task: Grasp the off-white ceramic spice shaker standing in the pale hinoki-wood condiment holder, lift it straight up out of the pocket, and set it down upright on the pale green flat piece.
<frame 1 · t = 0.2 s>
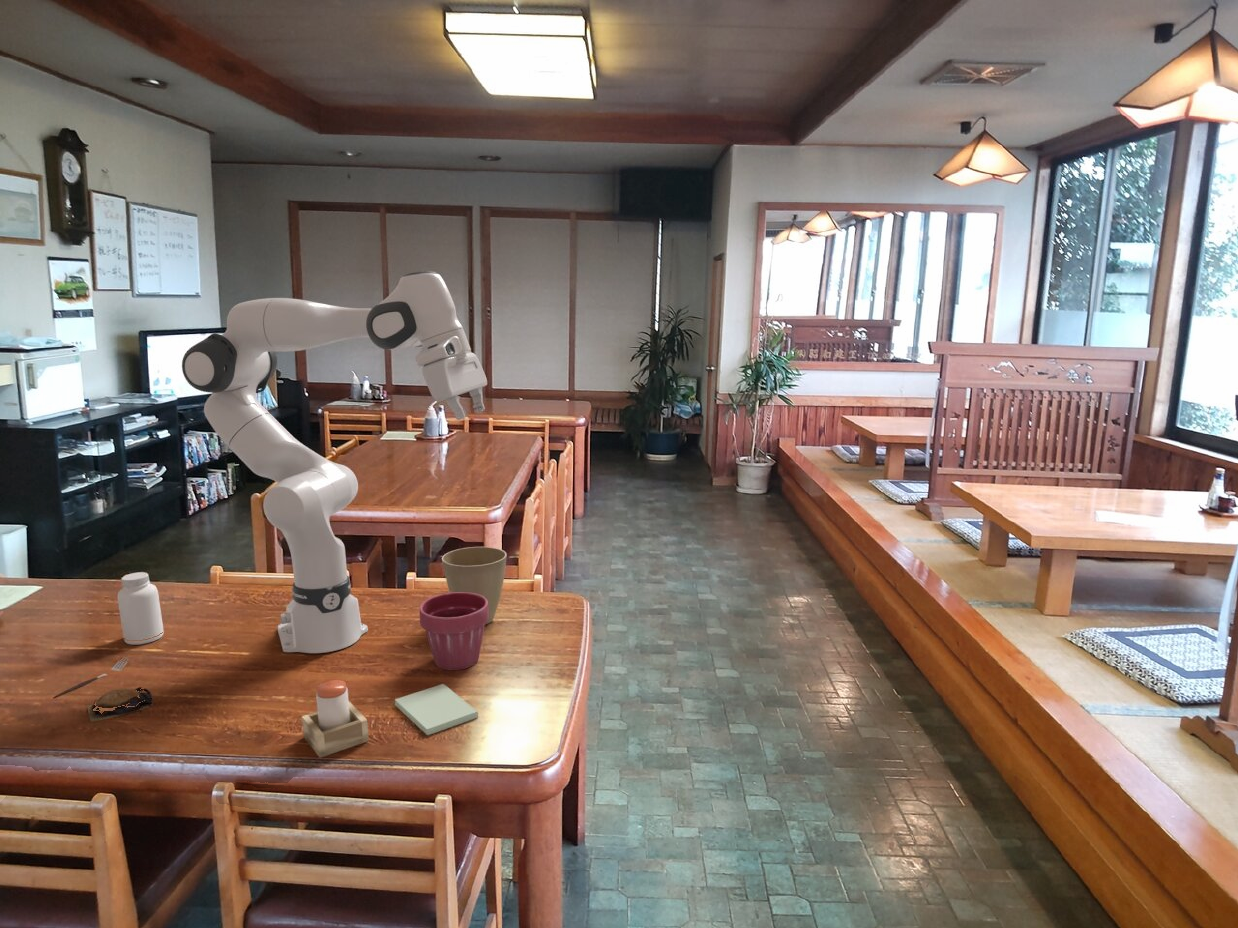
hand: (471, 415, 169), 52 cm above the table, tool tilted 20°, fingers open, 8 cm apart
pill bottle: (144, 639, 190), on the table
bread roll: (121, 709, 160), on the table
plant pot 2: (457, 661, 177), on the table
holder: (336, 738, 147), on the table
plant pot: (477, 620, 198), on the table
shaker: (335, 733, 146), point 1 cm above the table, touching holder
fork: (92, 683, 170), on the table
pale green flat piece: (436, 711, 156), on the table
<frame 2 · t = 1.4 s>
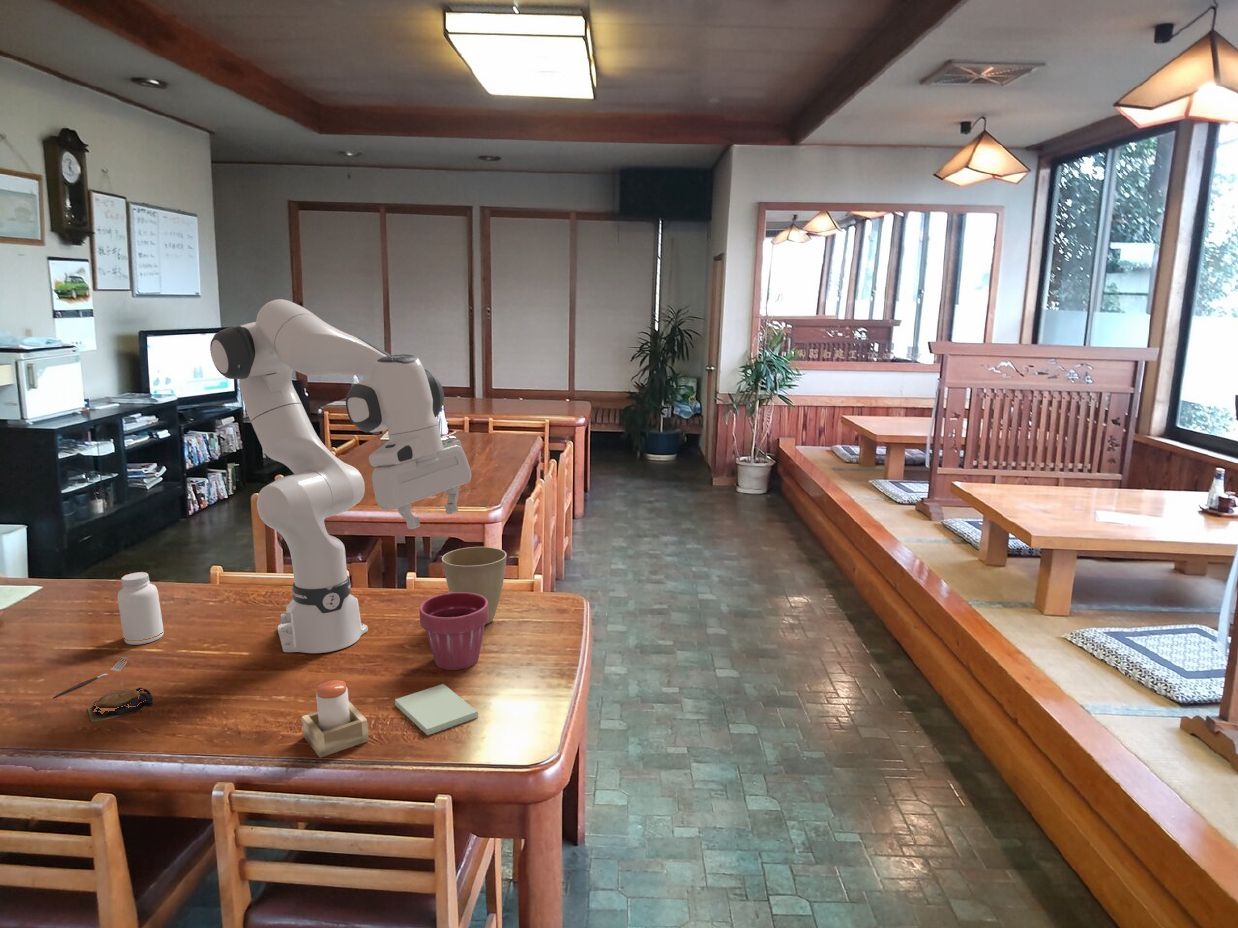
hand: (433, 520, 151), 36 cm above the table, tool pointing down, fingers open, 8 cm apart
nothing on the table moved.
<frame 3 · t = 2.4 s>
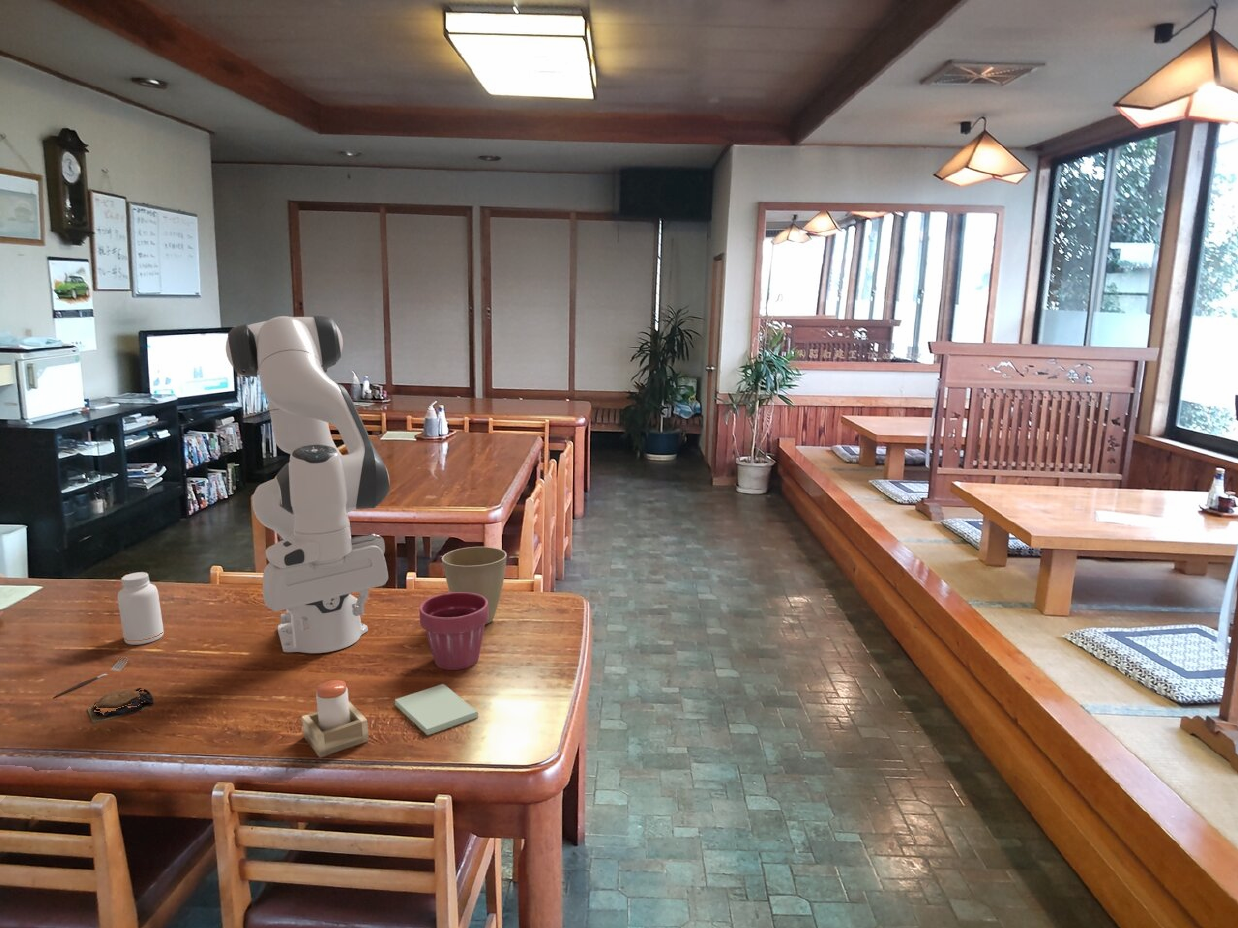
hand: (331, 621, 142), 22 cm above the table, tool pointing down, fingers open, 8 cm apart
nothing on the table moved.
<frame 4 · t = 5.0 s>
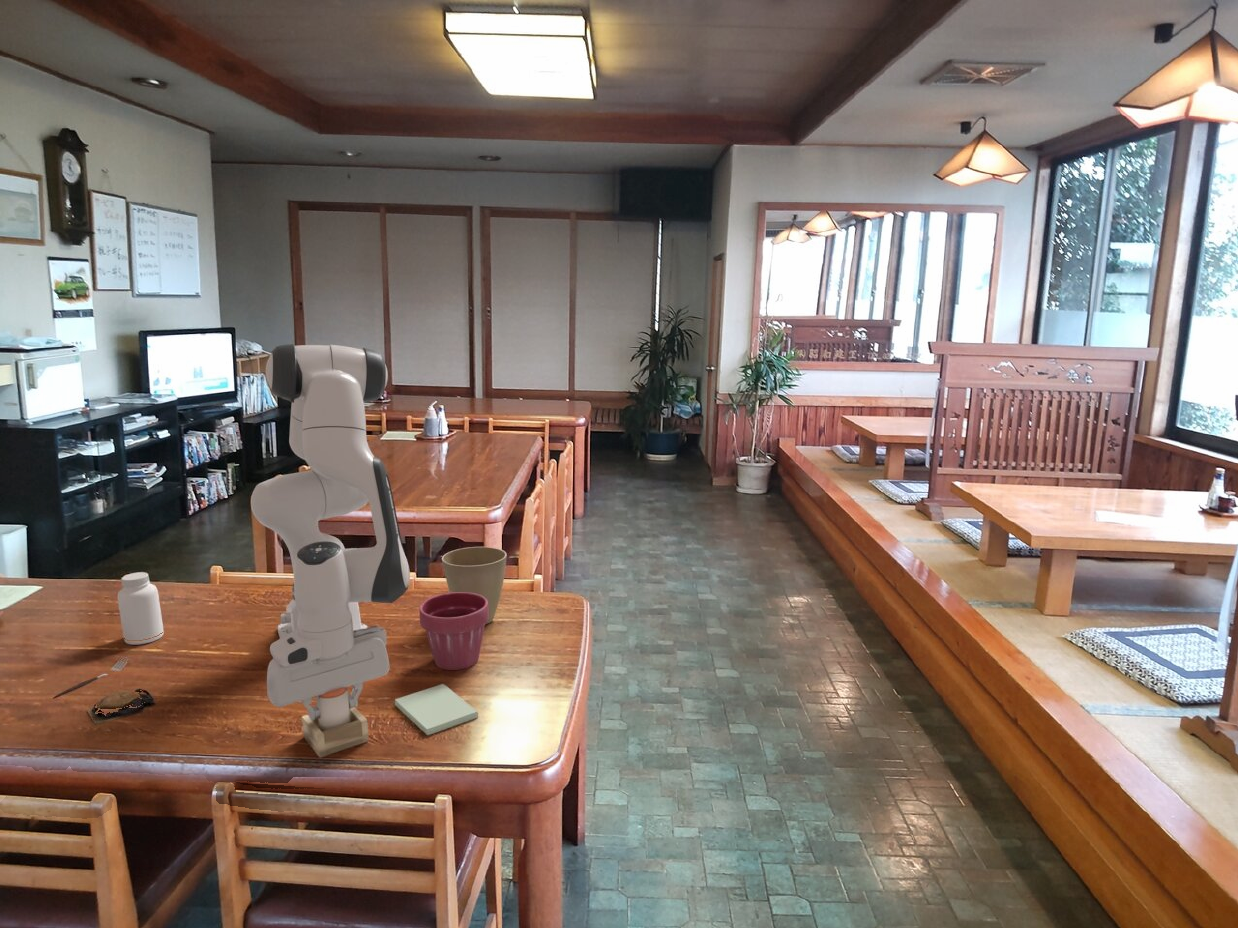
hand: (333, 712, 146), 5 cm above the table, tool pointing down, fingers closed on shaker, 5 cm apart
shaker: (335, 733, 146), point 1 cm above the table, touching gripper, holder
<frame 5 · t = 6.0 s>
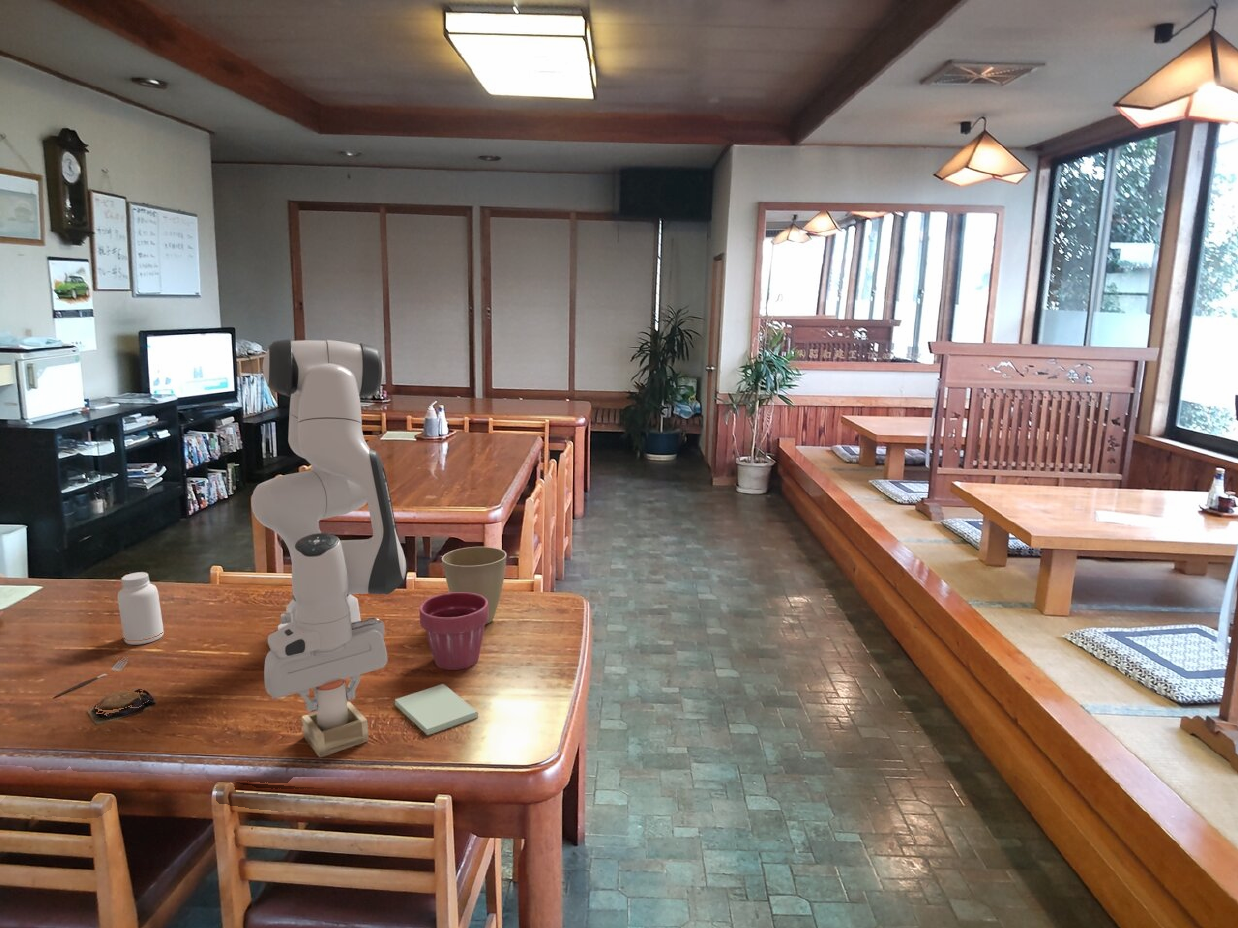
hand: (331, 704, 145), 7 cm above the table, tool pointing down, fingers closed on shaker, 5 cm apart
shaker: (333, 725, 146), point 2 cm above the table, touching gripper
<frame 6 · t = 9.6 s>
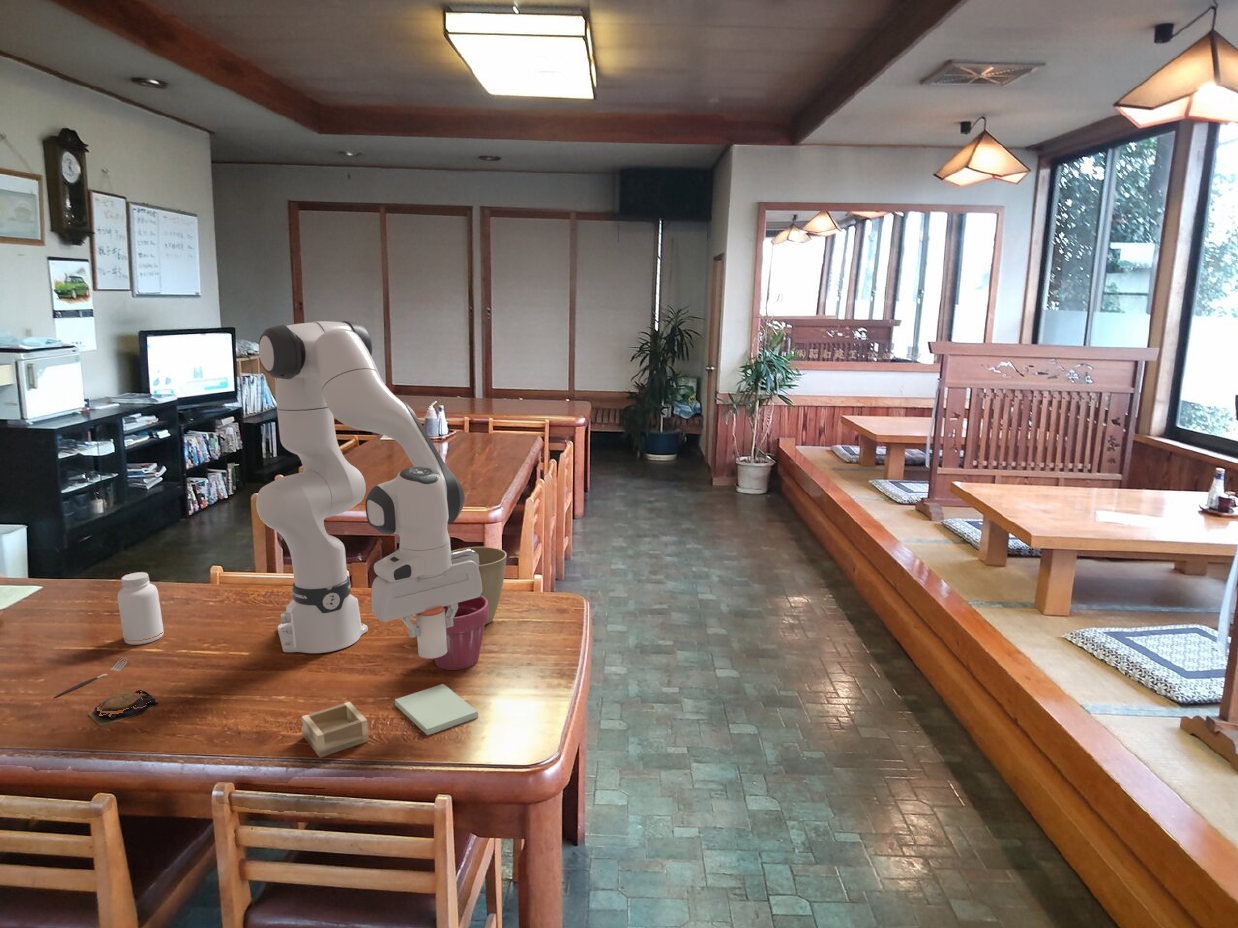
hand: (431, 631, 152), 16 cm above the table, tool pointing down, fingers closed on shaker, 5 cm apart
shaker: (433, 652, 153), point 12 cm above the table, touching gripper
when the fingers open (6 cm above the table, at t = 11.8 s): shaker stays where it is, resting on pale green flat piece.
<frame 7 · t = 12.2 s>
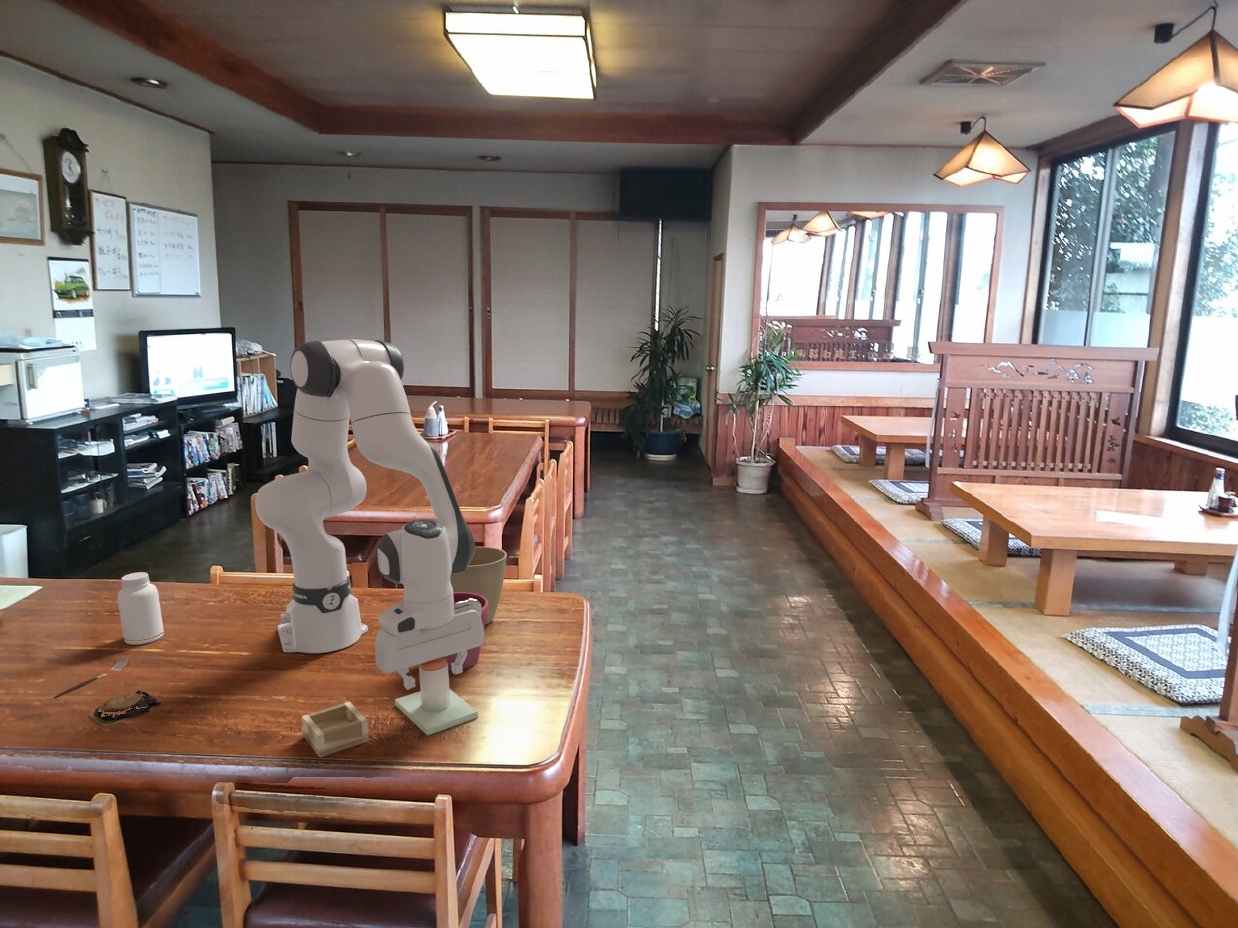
hand: (433, 679, 155), 6 cm above the table, tool pointing down, fingers open, 8 cm apart
shaker: (436, 705, 156), point 1 cm above the table, touching pale green flat piece
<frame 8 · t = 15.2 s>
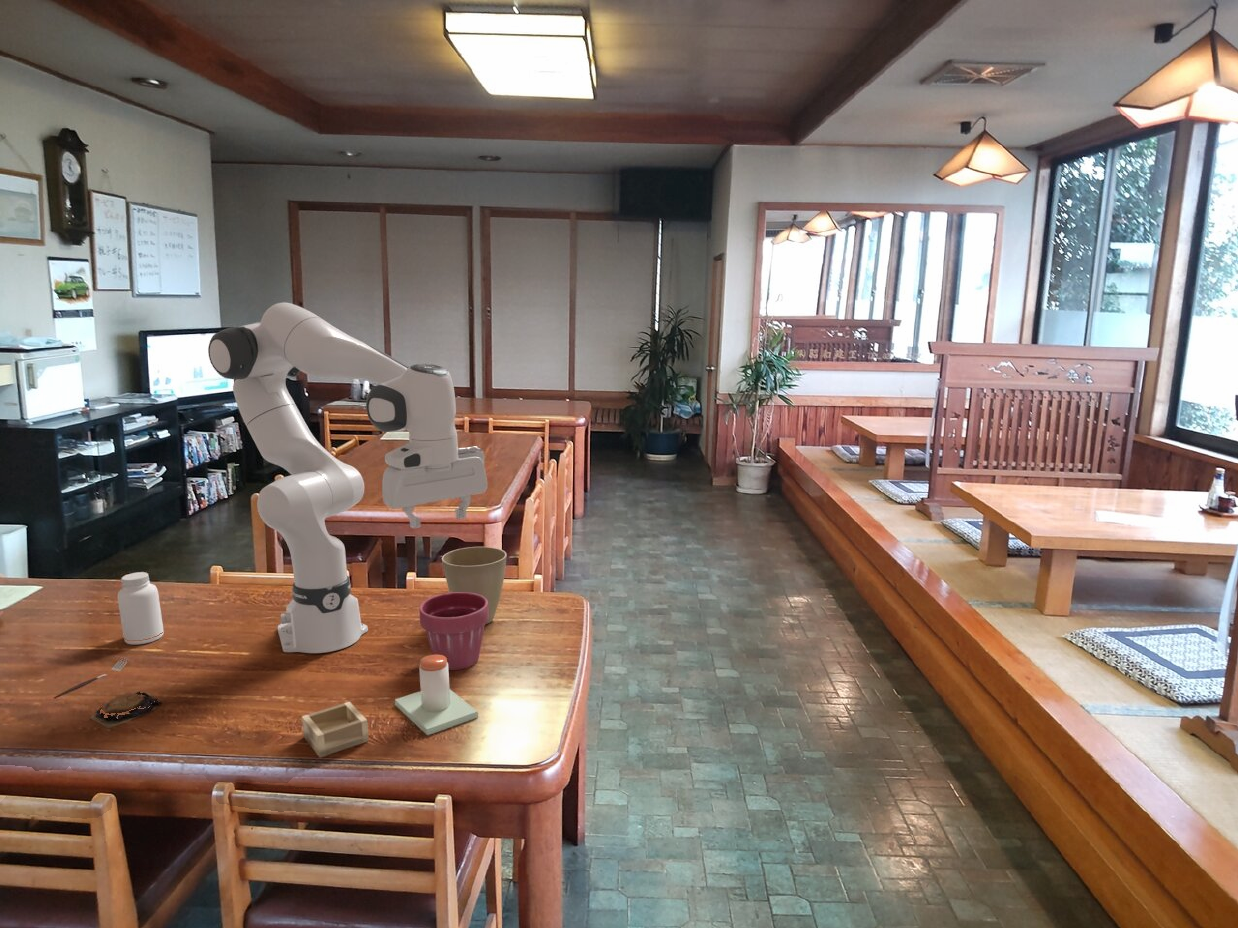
hand: (438, 522, 160), 33 cm above the table, tool pointing down, fingers open, 8 cm apart
at the end: shaker inside the target area on the pale green flat piece (0.1 cm from its centre), point 1.2 cm above the pale green flat piece's base; shaker tilted 0°; the gripper is holding nothing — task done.
